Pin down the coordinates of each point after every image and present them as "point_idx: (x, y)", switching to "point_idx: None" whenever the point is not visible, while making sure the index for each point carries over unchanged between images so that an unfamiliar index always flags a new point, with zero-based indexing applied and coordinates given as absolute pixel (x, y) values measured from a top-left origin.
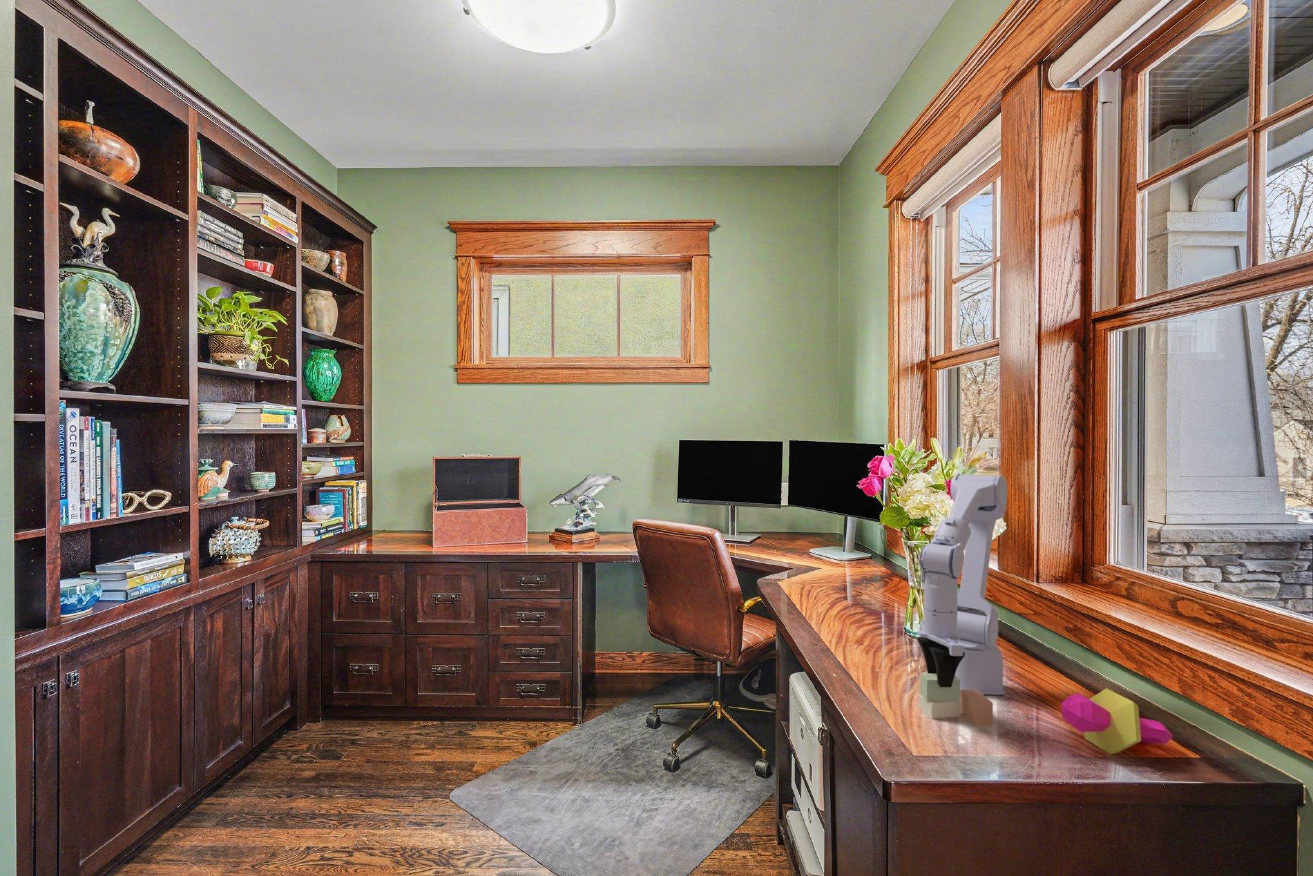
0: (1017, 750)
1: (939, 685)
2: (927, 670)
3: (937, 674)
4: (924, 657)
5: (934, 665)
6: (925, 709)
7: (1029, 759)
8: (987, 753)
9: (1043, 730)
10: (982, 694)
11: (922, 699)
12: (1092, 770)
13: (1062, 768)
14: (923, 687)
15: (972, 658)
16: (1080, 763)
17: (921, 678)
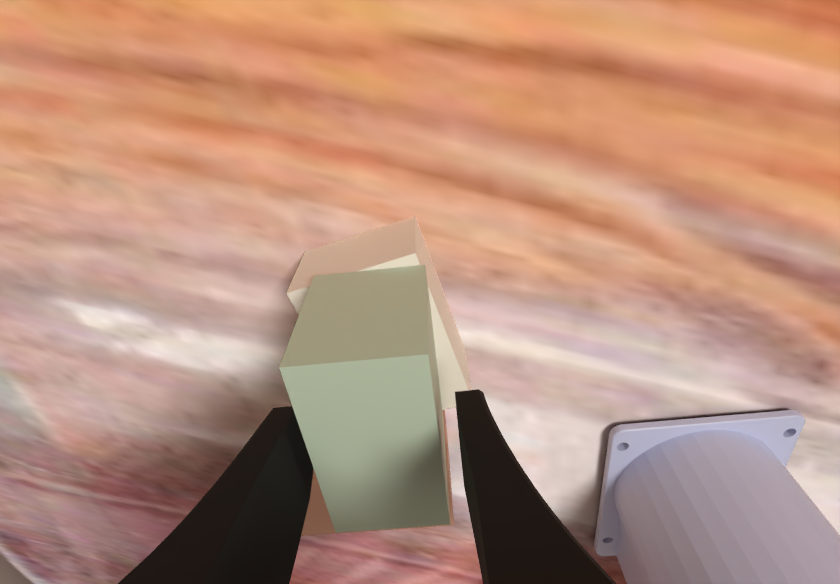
0: (112, 463)
1: (275, 412)
2: (481, 415)
3: (240, 471)
4: (530, 492)
5: (469, 493)
6: (350, 247)
7: (55, 473)
8: (21, 374)
9: (315, 555)
10: (395, 528)
11: (377, 260)
12: (76, 571)
13: (43, 524)
14: (364, 307)
15: None
16: (108, 563)
17: (403, 334)
